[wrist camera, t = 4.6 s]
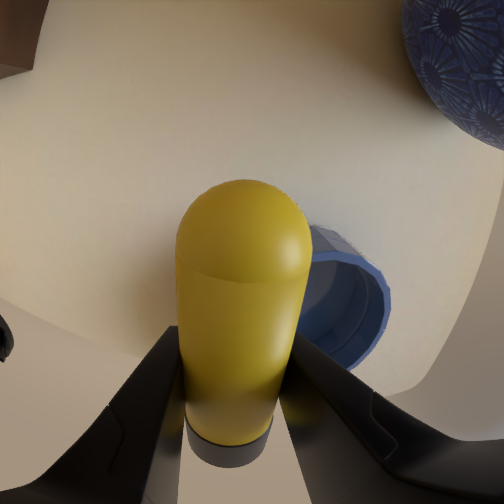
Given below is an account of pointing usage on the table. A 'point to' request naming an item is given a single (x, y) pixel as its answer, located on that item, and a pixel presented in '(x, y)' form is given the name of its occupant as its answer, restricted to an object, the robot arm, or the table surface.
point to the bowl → (343, 300)
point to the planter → (460, 61)
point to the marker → (238, 313)
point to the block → (19, 34)
